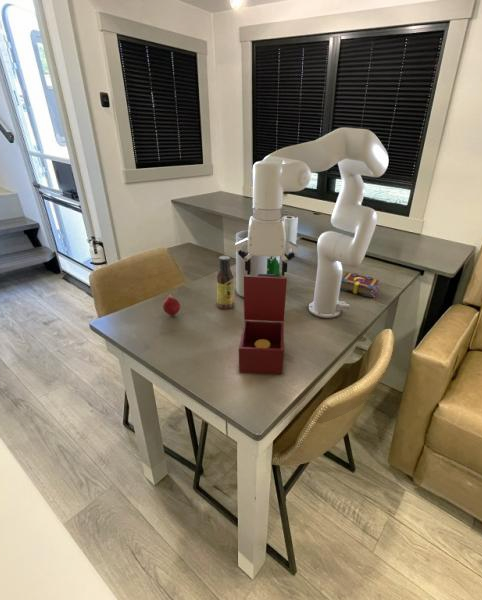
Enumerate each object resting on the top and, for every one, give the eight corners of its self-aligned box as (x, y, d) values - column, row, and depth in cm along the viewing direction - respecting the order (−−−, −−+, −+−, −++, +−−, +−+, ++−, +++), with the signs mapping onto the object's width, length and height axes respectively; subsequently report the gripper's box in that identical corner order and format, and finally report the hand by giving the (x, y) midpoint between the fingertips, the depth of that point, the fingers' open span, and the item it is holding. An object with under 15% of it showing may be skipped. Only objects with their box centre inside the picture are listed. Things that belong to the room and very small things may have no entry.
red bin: (282, 374, 97) (283, 350, 92) (239, 372, 96) (238, 348, 92) (282, 344, 109) (283, 322, 105) (244, 342, 109) (244, 320, 105)
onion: (184, 313, 122) (182, 294, 118) (174, 320, 117) (172, 301, 114) (170, 309, 124) (168, 290, 120) (160, 317, 119) (158, 297, 115)
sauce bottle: (230, 310, 126) (229, 262, 116) (215, 307, 127) (212, 259, 117) (236, 302, 132) (235, 255, 122) (221, 300, 132) (219, 253, 123)
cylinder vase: (241, 301, 133) (241, 241, 121) (233, 287, 143) (232, 231, 130) (270, 296, 137) (272, 239, 125) (260, 283, 147) (261, 229, 135)
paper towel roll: (280, 257, 176) (282, 217, 166) (282, 253, 181) (284, 215, 171) (293, 259, 175) (296, 219, 165) (295, 255, 180) (298, 216, 170)
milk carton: (256, 274, 155) (257, 233, 146) (267, 268, 162) (269, 229, 152) (271, 279, 152) (273, 238, 142) (282, 273, 158) (284, 233, 149)
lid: (286, 278, 96) (286, 270, 101) (243, 276, 96) (245, 267, 101) (283, 321, 105) (283, 311, 109) (244, 319, 104) (245, 309, 109)
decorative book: (346, 280, 156) (347, 270, 154) (379, 288, 151) (381, 279, 148) (338, 289, 147) (339, 279, 145) (373, 299, 142) (376, 288, 139)
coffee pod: (270, 351, 105) (270, 339, 102) (269, 360, 100) (270, 349, 98) (255, 350, 104) (255, 338, 102) (253, 360, 100) (254, 348, 98)
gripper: (299, 211, 88) (295, 269, 97) (235, 208, 88) (236, 266, 96) (301, 219, 82) (297, 280, 90) (231, 215, 81) (233, 278, 90)
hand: (266, 273), depth 93 cm, fingers open, 9 cm apart
